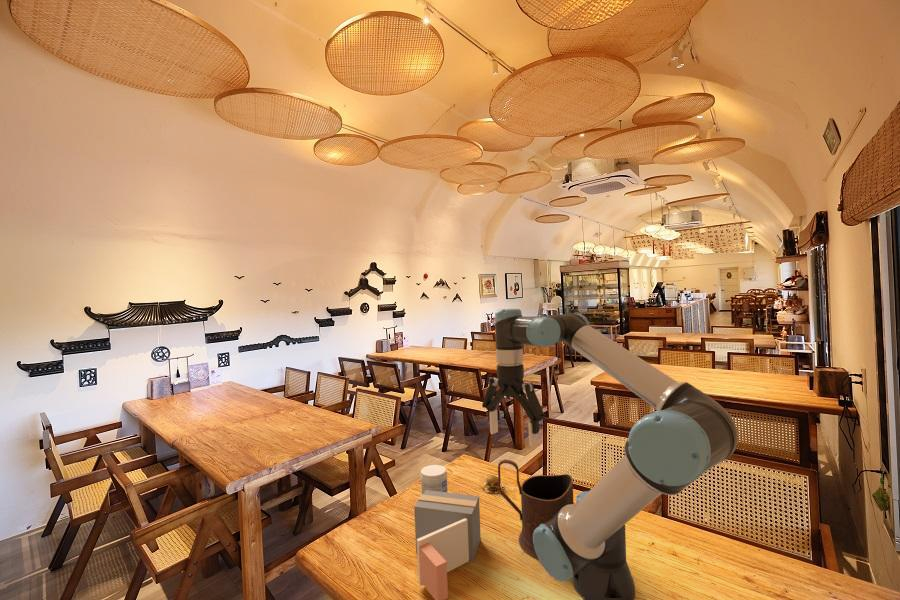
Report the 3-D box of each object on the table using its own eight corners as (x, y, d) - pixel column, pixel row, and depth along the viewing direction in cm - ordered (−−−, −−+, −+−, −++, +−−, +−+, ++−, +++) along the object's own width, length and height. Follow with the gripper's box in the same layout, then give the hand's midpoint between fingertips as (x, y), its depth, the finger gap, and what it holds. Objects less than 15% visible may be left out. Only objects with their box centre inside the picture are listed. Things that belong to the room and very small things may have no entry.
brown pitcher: (584, 566, 105) (581, 478, 105) (498, 558, 110) (495, 473, 110) (575, 526, 123) (573, 451, 123) (502, 520, 128) (499, 448, 128)
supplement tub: (449, 516, 132) (448, 474, 132) (423, 519, 131) (421, 477, 130) (446, 501, 141) (444, 463, 141) (421, 504, 140) (419, 465, 140)
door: (467, 559, 109) (465, 517, 108) (488, 580, 100) (487, 535, 100) (418, 583, 100) (416, 539, 100) (438, 609, 91) (436, 560, 91)
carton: (481, 540, 118) (479, 495, 118) (474, 562, 109) (472, 513, 109) (426, 532, 123) (425, 488, 123) (415, 552, 114) (413, 505, 114)
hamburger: (504, 500, 142) (503, 485, 142) (474, 494, 147) (473, 481, 147) (511, 484, 153) (510, 471, 153) (483, 480, 158) (482, 467, 158)
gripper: (556, 366, 99) (559, 446, 99) (485, 357, 117) (487, 425, 117) (540, 370, 94) (543, 455, 94) (468, 361, 112) (471, 431, 112)
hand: (512, 438), depth 105 cm, fingers open, 13 cm apart
